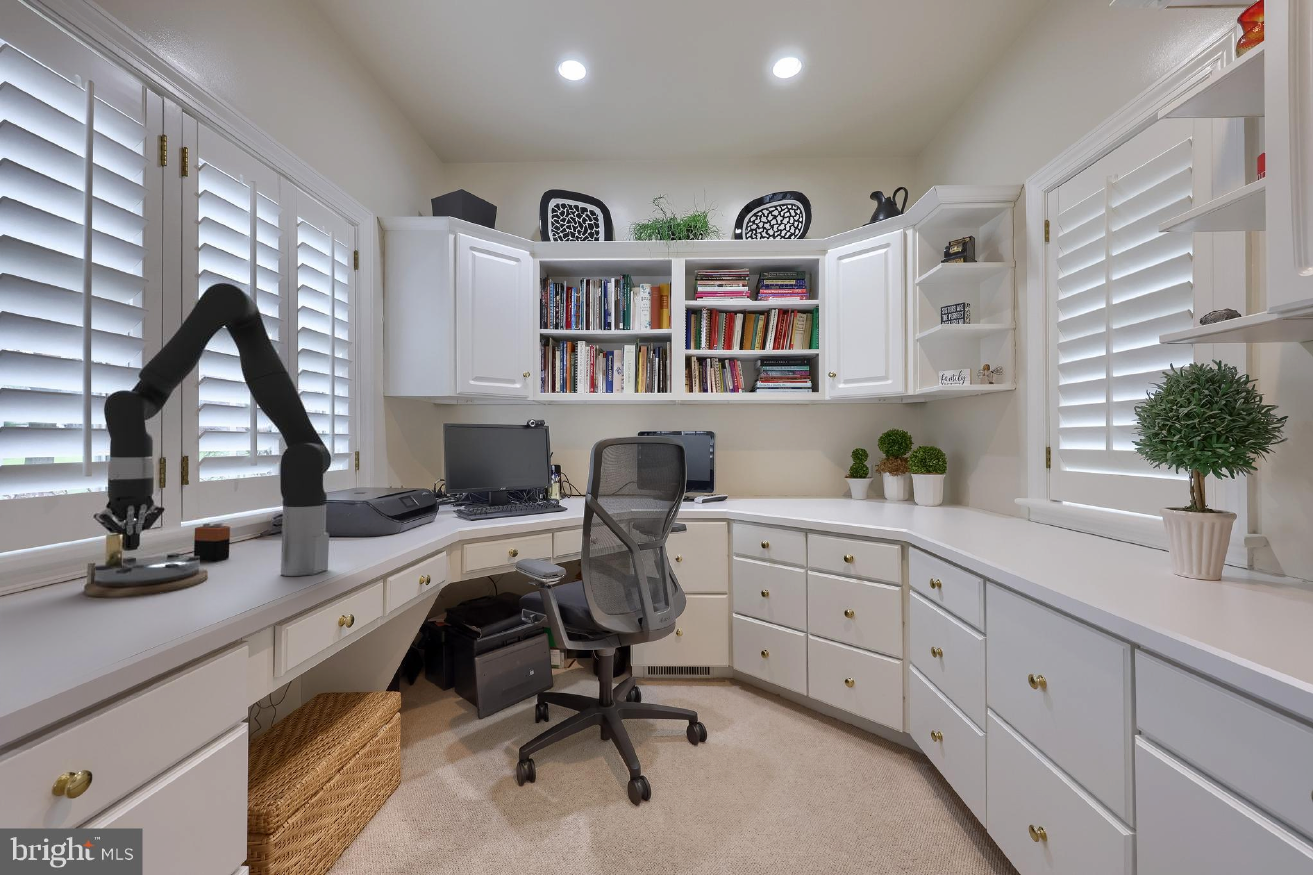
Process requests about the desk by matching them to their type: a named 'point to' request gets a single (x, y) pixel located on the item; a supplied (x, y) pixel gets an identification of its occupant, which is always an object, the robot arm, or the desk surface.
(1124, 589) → the desk surface
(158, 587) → the base plate
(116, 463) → the robot arm
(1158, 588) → the desk surface
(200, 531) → the battery
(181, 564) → the studded grey disc
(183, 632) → the desk surface
